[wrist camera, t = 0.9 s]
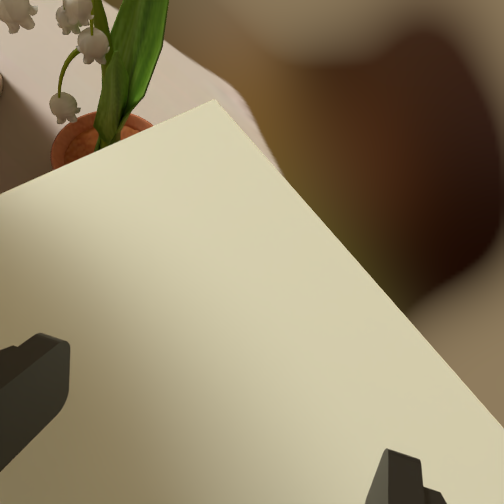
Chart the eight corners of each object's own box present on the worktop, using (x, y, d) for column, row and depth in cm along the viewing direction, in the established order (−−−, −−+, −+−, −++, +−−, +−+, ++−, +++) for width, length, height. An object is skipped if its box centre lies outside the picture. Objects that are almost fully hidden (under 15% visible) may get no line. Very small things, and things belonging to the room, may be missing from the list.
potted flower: (95, 282, 38) (-5, -14, 16) (12, 205, 40) (-183, -156, 18) (198, 194, 43) (231, -120, 21) (120, 130, 45) (75, -221, 23)
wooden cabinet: (13, 385, 33) (-158, 263, 16) (195, 274, 39) (218, 97, 22) (211, 737, 27) (294, 1205, 9) (393, 540, 33) (656, 594, 15)
